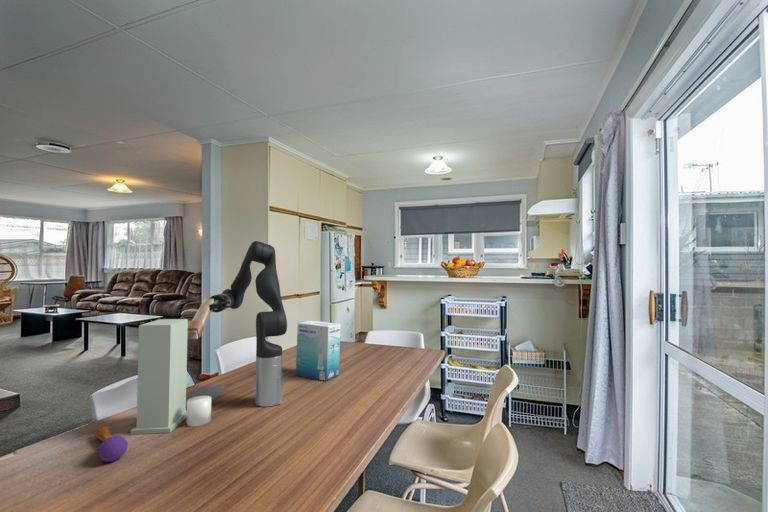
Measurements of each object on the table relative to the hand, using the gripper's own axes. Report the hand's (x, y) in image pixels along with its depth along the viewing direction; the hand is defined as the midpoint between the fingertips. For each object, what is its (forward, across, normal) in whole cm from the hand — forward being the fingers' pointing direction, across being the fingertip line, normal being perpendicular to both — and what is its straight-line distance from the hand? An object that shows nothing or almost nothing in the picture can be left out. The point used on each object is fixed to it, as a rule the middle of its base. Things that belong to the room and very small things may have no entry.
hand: (204, 307), depth 138 cm
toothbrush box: (-19, +43, +34) cm, 58 cm away
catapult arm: (+2, 0, +5) cm, 6 cm away
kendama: (+41, -10, +34) cm, 54 cm away
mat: (+4, +1, +34) cm, 34 cm away
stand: (+25, -3, +34) cm, 42 cm away
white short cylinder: (+25, +8, +34) cm, 43 cm away
